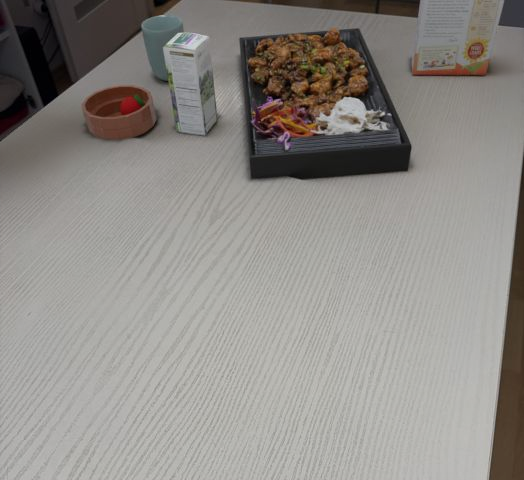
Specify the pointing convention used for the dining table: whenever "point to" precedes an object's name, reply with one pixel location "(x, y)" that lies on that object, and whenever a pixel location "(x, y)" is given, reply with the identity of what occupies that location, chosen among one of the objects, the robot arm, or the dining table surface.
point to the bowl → (118, 113)
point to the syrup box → (191, 82)
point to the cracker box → (455, 36)
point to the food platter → (318, 107)
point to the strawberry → (131, 105)
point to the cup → (159, 40)
